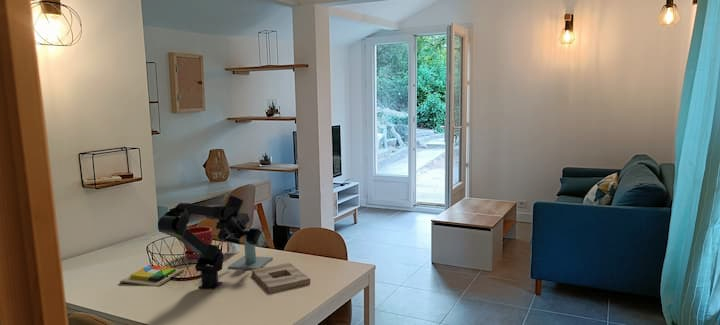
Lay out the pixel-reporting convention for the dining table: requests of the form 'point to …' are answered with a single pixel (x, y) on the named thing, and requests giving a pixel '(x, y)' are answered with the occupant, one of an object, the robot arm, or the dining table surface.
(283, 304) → the dining table surface
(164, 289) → the dining table surface
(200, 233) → the plant pot
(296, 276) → the walnut puzzle board
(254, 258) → the pale teal peg
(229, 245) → the white can
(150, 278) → the wooden puzzle
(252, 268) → the slate tile
